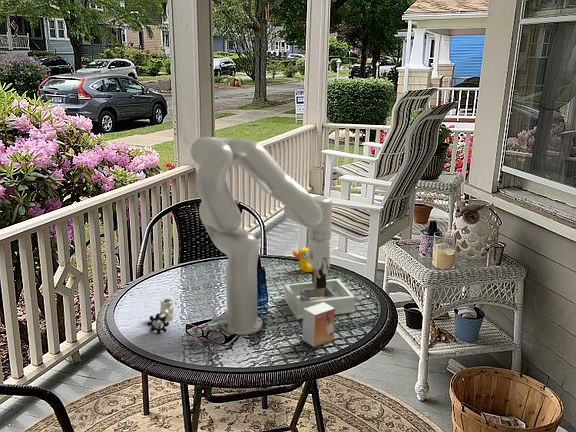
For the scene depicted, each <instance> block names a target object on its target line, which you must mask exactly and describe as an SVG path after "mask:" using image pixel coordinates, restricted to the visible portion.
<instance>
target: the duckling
mask: <svg viewBox="0 0 576 432" xmlns="http://www.w3.org/2000/svg"><path fill="white" fill-rule="evenodd" d="M292 254H293V256H294V258H296V259H299V260H298V262H297V266H298V268H299V269H300V271H302V272H303V273H312V272H313V271H312V266H311V265H310V263H309V262H308V247H302V248H300V249H299V250H298V252H296V250H293V251H292Z"/></svg>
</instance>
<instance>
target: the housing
mask: <svg viewBox="0 0 576 432" xmlns="http://www.w3.org/2000/svg"><path fill="white" fill-rule="evenodd" d="M283 286H284V294H283V295H284V297H283V298H284V300H285V302H286V304H287V305H288V307H289V309H290V310H291V312H292V314H293V315H294V317H295V318H296V320H301V319H302V320H303V309H304V308H308V307H311V306H314V305H317V304H320V303H322V302H324V303H326V304H328V305H330V306H332V307H333V308H335V316H336V315H342V314H350V313H355V310H356V309H355V308H356V296H355V295H354V294H353V292H351V291H350V290H349V289H348V288H347V286H345V285H344V283H343V282H342V281H341V280H340V279H339V278H334V279H326V288H325V289H324V296H323V297H315V295H314V285H313V283H312V281H305V282H295V283H287V284H284V285H283Z"/></svg>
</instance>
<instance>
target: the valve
mask: <svg viewBox="0 0 576 432" xmlns="http://www.w3.org/2000/svg"><path fill="white" fill-rule="evenodd" d="M159 304H160V308H159V309H160V311H159V313H158V312H157V313H156V314H155V316H153V315H150V316H149V321H148V322H147V326H148V327H150V326H151V328H150V329H149V331H150V332H151V333H153V332H154V331H156V334H157V335H160V334H161V333H162V332H163V333H166V332H167V331H168V328H167V327H169V325H170V323H169V322H172V321H173V320H174V311H175V310H174V306H173V299H172V298H163V299H161V300H160V303H159ZM154 321H155V324H154ZM165 321H168V322H165ZM154 325H155V326H154ZM162 325H163V326H162Z"/></svg>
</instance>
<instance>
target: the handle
mask: <svg viewBox="0 0 576 432" xmlns="http://www.w3.org/2000/svg"><path fill="white" fill-rule="evenodd" d="M310 258H311V259H313V256H312V255H311V254H310ZM321 268H322V267H321ZM322 271H323V270H322ZM322 271H320V273H321V272H322ZM317 277H318V272H317V270H315V269H314V279H313V285H314V295H315V297H323V296H324V289H325V288H321V289H317V287H316V285H317Z"/></svg>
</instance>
